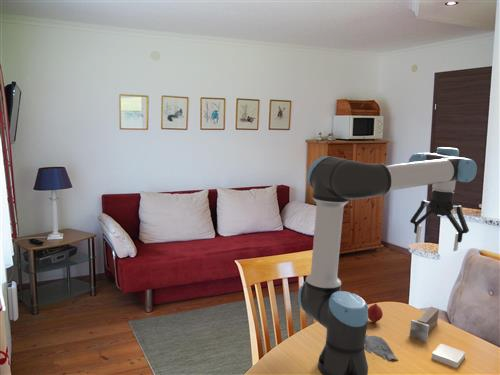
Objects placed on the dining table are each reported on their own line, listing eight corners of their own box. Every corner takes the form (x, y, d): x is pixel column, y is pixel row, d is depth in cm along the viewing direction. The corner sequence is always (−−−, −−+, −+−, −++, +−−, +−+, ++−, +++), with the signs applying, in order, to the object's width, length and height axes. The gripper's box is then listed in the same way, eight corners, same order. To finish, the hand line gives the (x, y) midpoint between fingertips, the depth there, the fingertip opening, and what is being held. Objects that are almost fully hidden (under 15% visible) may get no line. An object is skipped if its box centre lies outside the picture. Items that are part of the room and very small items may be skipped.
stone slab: (351, 331, 162) (377, 329, 163) (350, 336, 162) (377, 334, 163) (370, 360, 144) (400, 358, 145) (370, 365, 145) (399, 363, 146)
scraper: (409, 335, 163) (411, 320, 162) (425, 319, 177) (427, 305, 176) (426, 341, 159) (428, 326, 158) (441, 324, 173) (442, 310, 172)
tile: (440, 349, 155) (431, 359, 148) (440, 343, 155) (432, 353, 148) (464, 358, 150) (456, 369, 143) (465, 352, 150) (457, 362, 143)
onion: (363, 319, 174) (365, 300, 172) (375, 318, 175) (377, 299, 174) (371, 326, 168) (373, 306, 167) (384, 325, 170) (386, 305, 169)
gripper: (482, 194, 158) (474, 251, 161) (412, 184, 173) (406, 237, 177) (478, 196, 152) (469, 256, 156) (405, 186, 167) (399, 240, 171)
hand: (435, 246), depth 166 cm, fingers open, 13 cm apart
